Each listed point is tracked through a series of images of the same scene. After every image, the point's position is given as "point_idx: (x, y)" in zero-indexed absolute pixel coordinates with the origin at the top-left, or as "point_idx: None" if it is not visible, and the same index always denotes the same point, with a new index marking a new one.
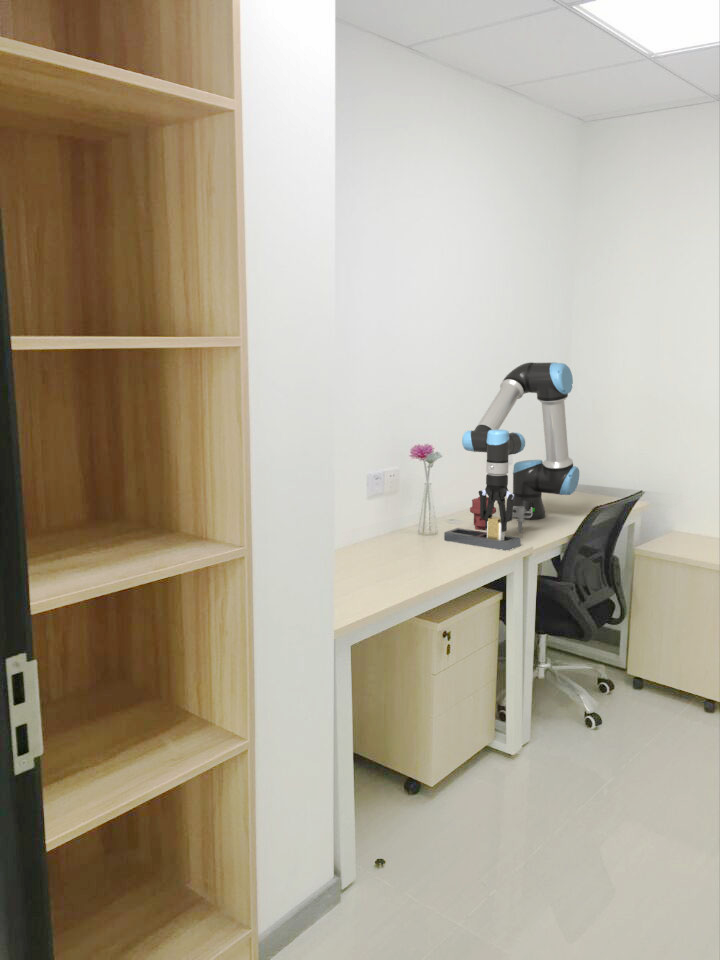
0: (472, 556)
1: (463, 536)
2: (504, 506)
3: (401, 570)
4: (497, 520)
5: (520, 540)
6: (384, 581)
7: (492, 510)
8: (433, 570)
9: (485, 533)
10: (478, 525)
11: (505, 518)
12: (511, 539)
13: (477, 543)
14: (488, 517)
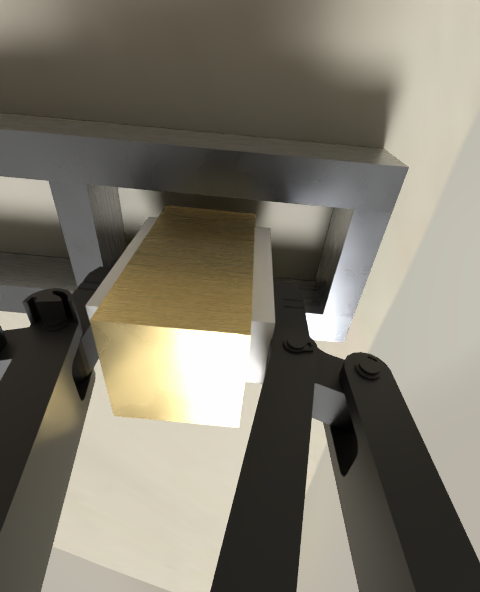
0: (227, 426)
1: (13, 307)
2: (290, 590)
3: (156, 536)
4: (232, 418)
5: (398, 162)
6: (182, 567)
7: (43, 427)
8: (214, 525)
9: (63, 182)
10: None
11: (295, 375)
12: (343, 266)
13: None
14: (87, 390)
